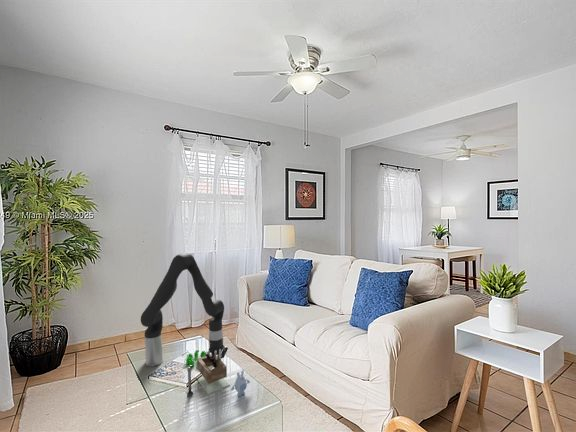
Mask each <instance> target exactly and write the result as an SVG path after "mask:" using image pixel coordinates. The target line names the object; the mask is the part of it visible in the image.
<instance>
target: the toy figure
mask: <svg viewBox="0 0 576 432" xmlns="http://www.w3.org/2000/svg"><path fill="white" fill-rule="evenodd" d="M240 373H241V374H240ZM244 374H245V371H244V370H242V371H241V372H237V374H236V376H237V377H236V379H235V382H234V385H233V386H231V391H234V390H236V392H237V394H236V395H237V396H238V397H240V396H242V395H245V393H246V389H247V387H248V384H250V383H251V380H249V379H247V378H245V376H244Z"/></svg>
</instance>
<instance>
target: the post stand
mask: <svg viewBox="0 0 576 432" xmlns="http://www.w3.org/2000/svg"><path fill="white" fill-rule="evenodd" d="M186 370H187V371H186V372H187V383H188V385H187V386H188V387H187V389H188V391H187V392H186V396H187V397H188V398H191V397H193V396H194V391H192V372H191V371H192V367H191V366H190V367H189V366H188V367H187V369H186ZM192 395H193V396H192ZM190 396H191V397H190Z"/></svg>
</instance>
